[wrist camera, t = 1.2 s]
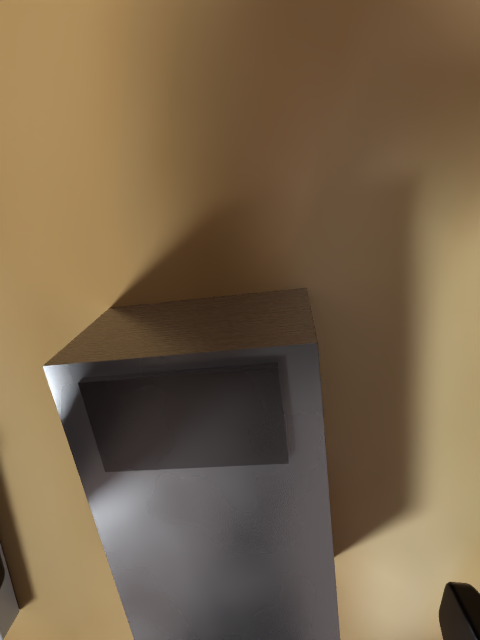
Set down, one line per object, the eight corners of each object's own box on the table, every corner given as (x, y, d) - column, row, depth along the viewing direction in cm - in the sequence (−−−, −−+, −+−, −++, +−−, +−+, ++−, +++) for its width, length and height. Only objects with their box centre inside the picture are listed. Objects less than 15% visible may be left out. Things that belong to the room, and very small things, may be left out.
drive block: (327, 552, 13) (344, 689, 10) (177, 555, 14) (143, 684, 11) (305, 284, 10) (318, 347, 7) (113, 304, 11) (36, 371, 7)
